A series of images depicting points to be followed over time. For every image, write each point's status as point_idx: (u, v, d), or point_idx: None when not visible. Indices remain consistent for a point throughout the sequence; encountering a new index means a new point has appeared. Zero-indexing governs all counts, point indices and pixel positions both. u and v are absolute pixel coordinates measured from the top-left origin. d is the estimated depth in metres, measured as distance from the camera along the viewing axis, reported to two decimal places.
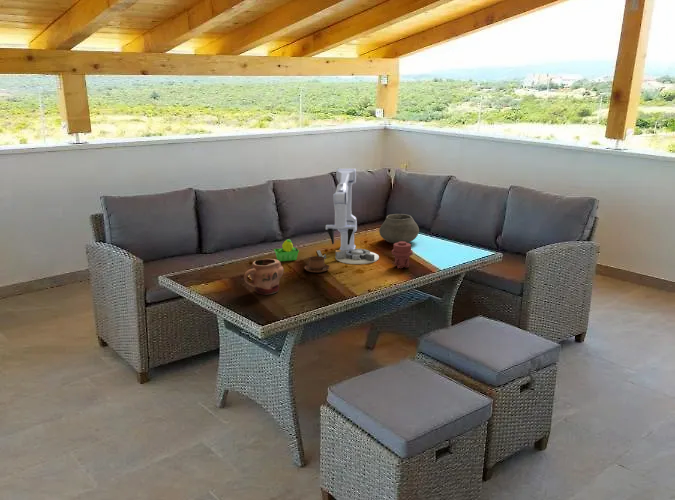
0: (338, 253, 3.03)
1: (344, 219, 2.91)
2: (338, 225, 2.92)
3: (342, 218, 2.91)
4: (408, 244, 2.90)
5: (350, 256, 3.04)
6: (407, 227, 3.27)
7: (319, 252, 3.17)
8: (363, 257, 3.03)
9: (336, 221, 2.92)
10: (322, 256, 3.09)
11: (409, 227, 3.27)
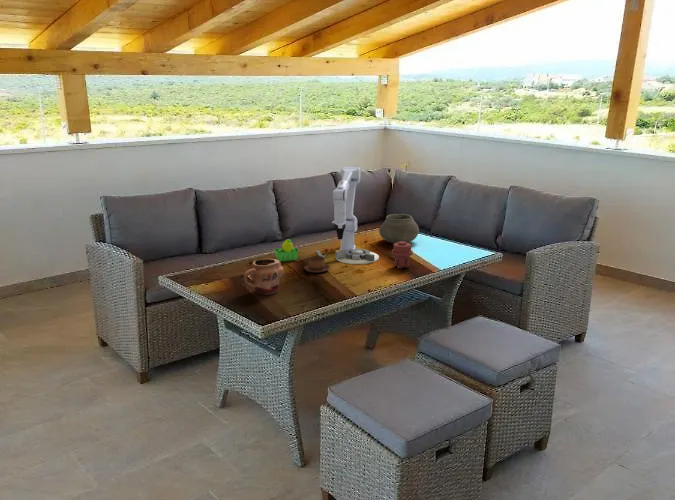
0: (338, 253, 3.03)
1: (336, 215, 3.03)
2: None
3: (334, 213, 3.04)
4: (408, 244, 2.90)
5: (350, 256, 3.04)
6: (407, 227, 3.27)
7: (319, 252, 3.17)
8: (363, 257, 3.03)
9: None
10: (322, 256, 3.09)
11: (409, 227, 3.27)
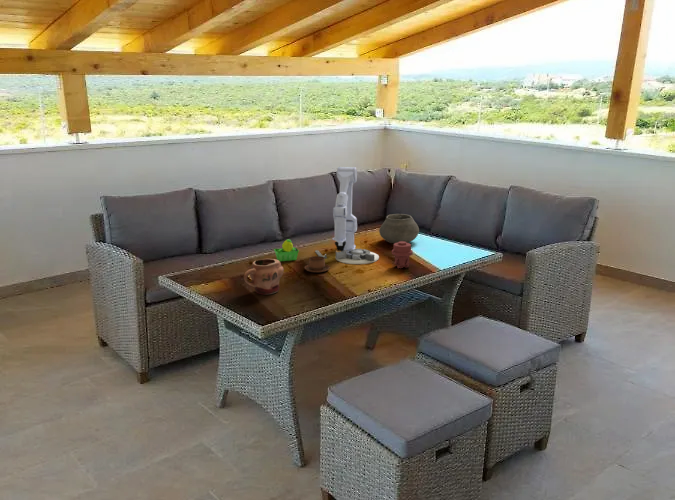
0: (338, 253, 3.03)
1: (336, 232, 3.02)
2: None
3: (335, 230, 3.03)
4: (408, 244, 2.90)
5: (350, 256, 3.04)
6: (407, 227, 3.27)
7: (318, 252, 3.17)
8: (363, 257, 3.03)
9: None
10: (323, 256, 3.10)
11: (409, 227, 3.27)
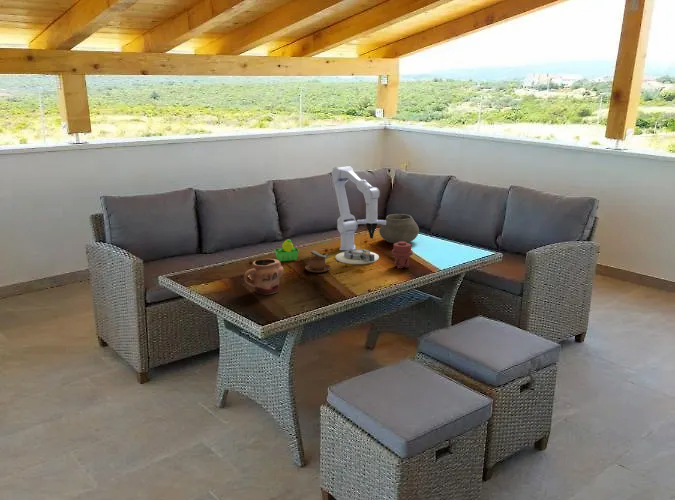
0: None
1: (375, 214, 3.03)
2: (369, 220, 3.03)
3: (373, 213, 3.02)
4: (408, 244, 2.90)
5: None
6: (407, 227, 3.27)
7: (316, 252, 3.16)
8: None
9: (367, 216, 3.03)
10: (324, 256, 3.10)
11: (409, 227, 3.27)
